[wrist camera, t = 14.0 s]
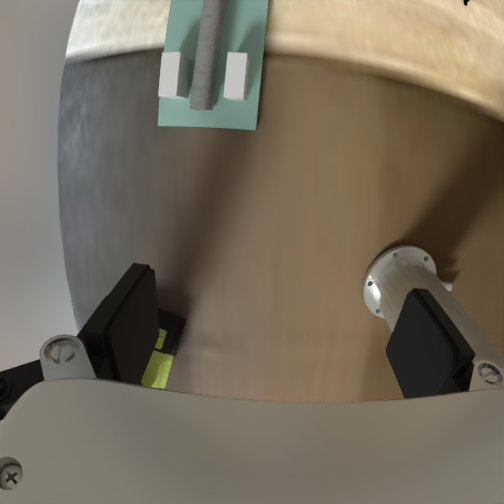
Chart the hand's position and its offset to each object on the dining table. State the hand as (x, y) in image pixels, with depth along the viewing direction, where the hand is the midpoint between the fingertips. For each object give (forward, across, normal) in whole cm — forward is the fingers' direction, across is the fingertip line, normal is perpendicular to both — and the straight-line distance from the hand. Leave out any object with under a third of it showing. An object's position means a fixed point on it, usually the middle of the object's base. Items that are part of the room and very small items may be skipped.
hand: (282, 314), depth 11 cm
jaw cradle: (+30, +8, -20) cm, 37 cm away
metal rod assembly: (+29, +8, -20) cm, 36 cm away
